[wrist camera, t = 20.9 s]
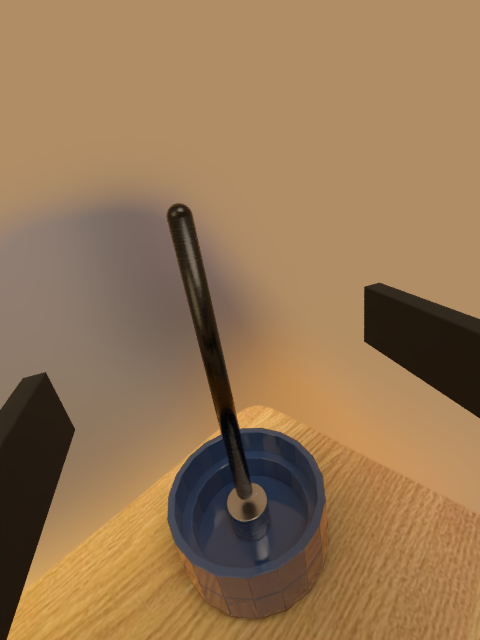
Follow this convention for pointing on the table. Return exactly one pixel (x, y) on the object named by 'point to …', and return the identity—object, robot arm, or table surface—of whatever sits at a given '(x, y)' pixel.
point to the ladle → (218, 379)
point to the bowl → (262, 555)
